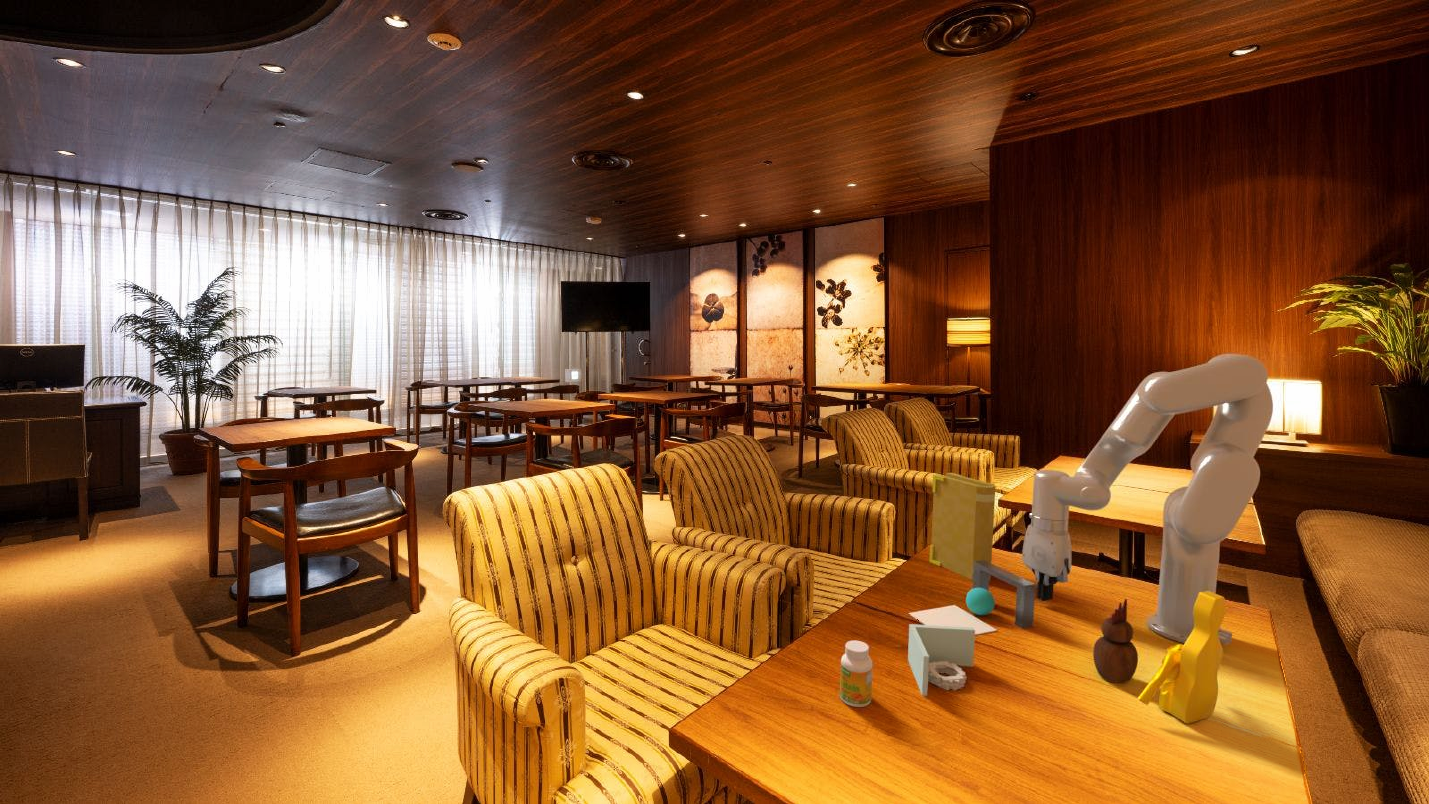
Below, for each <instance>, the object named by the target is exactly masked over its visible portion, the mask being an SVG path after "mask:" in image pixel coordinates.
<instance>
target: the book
mask: <svg viewBox="0 0 1429 804" xmlns="http://www.w3.org/2000/svg"><path fill="white" fill-rule="evenodd" d="M932 493H933V497H932V499H933V500H932V501H933V502H932V517H931V519H932V522H931V542H930V543H931V544H929V561H928V562H929V563H931V564H933V565H936V566H938V567H942V568H945V569H947V570H948V571H951V572H953V573H956V574H957V575H960V576H962V577H964V578H966V577H967V579H968V580H970V581H973V570H974V562H975V561H982V560H985V561H987V562H989V563H991V564H992V556H993V540H994V539H993V538H994V537H993V536H994V521H995V517H994V516H995V501H996V485H995V484H993V483H990V482H986V481H982V480H978V479H975V478H971V477H967V476H963V475H961V474H957V473H953V472H946V473H945V475H944V474H943V475H942V474H932ZM991 577H992V575H990V577H989V582H990V581H991V579H992V578H991Z"/></svg>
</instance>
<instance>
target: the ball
mask: <svg viewBox="0 0 1429 804" xmlns="http://www.w3.org/2000/svg"><path fill="white" fill-rule="evenodd" d="M965 597H966V598H965V603H966V606H967V608H968V609H969V611H971V612H972V613H973V614H975V615H978V616H986V615H989V614H990V613H991V612H993V610H994V608H995V602H996V601H995V598H994V595H992V593H991V592H990V590H989V591H987V590H986V589H983V588H974V589H973V588H972V589H970V590H969V591H968V592H967V594H966V596H965Z"/></svg>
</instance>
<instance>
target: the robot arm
mask: <svg viewBox="0 0 1429 804" xmlns="http://www.w3.org/2000/svg"><path fill="white" fill-rule="evenodd" d="M1268 377H1269V374H1268V370H1267V367H1266V365H1264V363H1263V362H1261V361H1260V360H1259V359H1257V358H1256V357H1253V356H1250V355H1247V354H1239V353H1223V354H1219V355H1216V356H1214V357H1213V358H1211V359H1209V361H1207V362H1206V363H1202V364H1199V365H1196V366H1192V367H1188V368H1183V369H1179V370H1175V371H1171V372H1170V371H1169V372H1168V371H1158V372H1153V373H1151V374H1149V375H1147V376H1146V377H1144V379H1143V380H1142V381H1141V382H1140V383H1139V385H1138V386H1137V388H1136V389H1135V391H1133V393H1132V395H1131V396H1130V397H1129V399H1128V400H1127V402H1126V403H1125V404H1124V405H1123V407H1122V409H1121V410H1120V411H1119V413H1118V414H1117V415H1116V416H1115V418H1114V419H1113V421H1112V422H1111V424H1110V425H1109V427H1108V428H1107V430H1106V431H1105V432H1104V433H1103V434H1102V436H1101V438H1100V439H1099V440H1098V442H1097V443H1096V445H1095V446H1094V447H1093V448H1092V450H1091V451H1090V452H1089V453H1088V455H1087V457H1086V458H1085V459H1084V461H1083V462H1082V463H1081V464H1080V466H1079V468H1078V469H1077V471H1076V472H1075V473H1074V475H1073V476H1070V475H1069V474H1068V473H1067V472H1063V471H1061V470H1055V469H1053V470H1052V469H1041V470H1038V471H1036V472H1035V473H1034V476H1033V485H1032V486H1033V487H1032V503H1031V508H1032V509H1031V513H1029V515H1028V516H1029V518H1030V519H1031V521H1030V522H1031V523H1030V524H1029V525H1028V524H1027V525H1028V526H1027V528H1026V531H1025V535H1024V540H1023V546H1022V553H1021V556H1022V557H1021V561H1022V563H1023V565H1024V566H1026V568H1027V569H1029V570H1030V571H1031V572H1032V573H1033V575H1034V579H1035V581H1036V582H1037V588H1036V598H1037V600H1040V601H1042V602H1046V601H1051V600H1053V595H1054V587H1055V586H1054V585H1056V584H1057V583H1060V584H1062V583H1063V584H1064V583H1068V582H1069V578H1068V575H1070V574H1071V568H1072V543H1071V536H1070V533H1069V532H1068V531H1069V518H1070V516H1069V514H1070V507H1072V508H1077V509H1081V510H1087V511H1100V510H1102V509H1104V508H1106V507H1107V506H1108V505H1109V503H1110V502H1111V497H1112V496H1111V495H1112V492H1111V490H1110V488H1111V487H1112V486H1113V484H1114V482H1115V481H1116V480H1117V478H1118V477H1119V475H1121V473H1122V472H1123V470H1124V469H1125V468H1127V466H1128V465H1129V464H1130V463H1131V462H1132V461H1133V460H1134V459H1136V458H1137V457H1139V456H1142V455H1143V454H1145V453H1146V452H1147V451H1148V450H1149V449H1151V447H1152V446H1153V444H1154V443H1155V441H1156V440H1157V439H1158V438H1159V436H1160V435H1161V433H1162V432H1163V431H1164V429H1165V428H1166V427H1167V425H1168V424H1169V423H1170V421H1171V420H1172V419H1173V418H1174V417H1175V415H1178V414H1179V415H1180V414H1185V413H1191V412H1195V411H1200V410H1203V409H1208V408H1213V407H1216V406H1217V407H1216V410H1215V413H1214V416H1213V418H1212V419H1211V422H1210V425H1209V427H1208V428H1207V430H1206V433H1204V436H1203V438H1202V440H1201V441H1200V443H1199V445H1198V446H1197V448H1196V449H1195V451H1194V453H1193V455H1192V457H1191V459H1190V468H1191V471H1192V474H1193V476H1192V477H1191V479H1190V481H1189V484H1188V485H1187V486H1182V487H1178V488H1176V489H1174V490H1173V491H1171V493H1169V495H1168V496H1167V497H1166V500H1165V502H1164V504H1163V513H1162V515H1163V517H1162V526H1163V527H1162V530H1163V531H1162V547H1161V557H1160V558H1161V559H1160V569H1159V570H1160V571H1159V580H1158V581H1159V582H1158V583H1159V584H1158V595H1157V608H1156V614H1155V613H1154V614H1151V615H1149V616H1148V617H1147V619H1146V624H1147V626H1148V628H1150V630H1152V631H1153V632H1155V633H1156V634H1158V635H1159V636H1162V637H1164V638H1166V639H1170V640H1173V641H1175V642H1179V643H1182V644H1185V642H1186V641H1187V639H1188V638H1189V636H1190V634H1191V633H1192V631H1193V629H1194V617H1193V609H1194V605H1195V602H1196V600H1197V597H1198V595H1199V593H1200V592H1205V591H1210V592H1213V593H1215V594H1217V593H1216V592H1217V581H1218V580H1217V579H1218V572H1219V571H1218V570H1219V561H1220V549H1221V547H1220V546H1221V545H1220V543H1221V542H1222V541H1224V540H1225V539H1227V538H1228V536H1229V535H1231V533H1232V531H1233V530H1234V529H1235V527H1236V526H1237V524H1238V522H1239V521H1240V519H1241V517H1242V516H1243V514H1244V512H1245V510H1246V508H1247V506H1248V505H1249V503H1250V501H1251V499H1252V497H1253V496H1254V494H1255V492H1256V490H1257V488H1258V486H1259V483H1260V477H1261V470H1260V466H1259V464H1258V461H1257V460H1256V459H1255V458H1254V457H1255V455H1256V453H1257V451H1258V449H1259V447H1260V445H1261V443H1262V441H1263V438H1264V437H1265V434H1266V432H1267V431H1268V428H1269V425H1270V423H1271V420H1272V416H1273V411H1274V402H1273V396H1272V393H1271V389H1270V387H1269V385H1268V383H1267V382H1268V380H1269V379H1268ZM1218 637H1219V640H1220V643H1221V644H1224V645H1225V646H1229V645H1230V644H1232V638H1233V633H1232V632H1231V631H1228V630H1226V629H1224V628H1223V629H1222V628H1221V627H1220V628H1219V630H1218Z"/></svg>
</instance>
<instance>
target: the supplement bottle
mask: <svg viewBox="0 0 1429 804" xmlns="http://www.w3.org/2000/svg"><path fill="white" fill-rule="evenodd" d="M844 646H845V649H844V650H845V651H844V652H845V653H844V654H843V655H842V656H841V659H840V676H839V677H840V680H839V682H840V683H839V697H840V700H841V701H842V702H843V703H844V704H846V705H848V706H850V707H855V708H863V707H867V706H869V705H870V704H871V702H872V696H873V695H872V692H873V667H874V666H873V661H872V658H871V657H870V656H869V654H870V647H869V644H867V643H866V642H863V641H860V640H849V641H847V642H846V643H845V645H844Z"/></svg>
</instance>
